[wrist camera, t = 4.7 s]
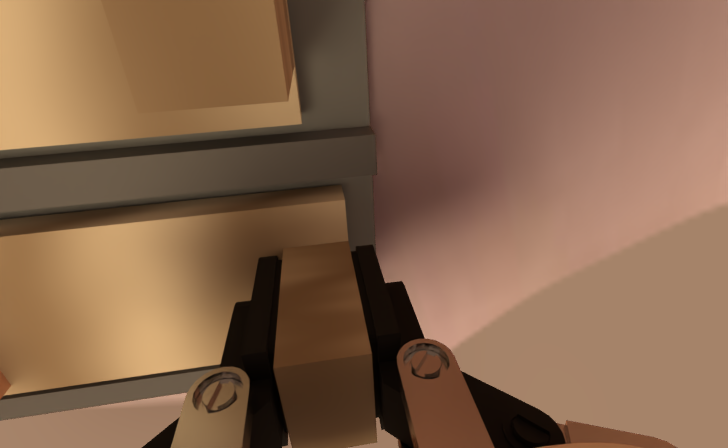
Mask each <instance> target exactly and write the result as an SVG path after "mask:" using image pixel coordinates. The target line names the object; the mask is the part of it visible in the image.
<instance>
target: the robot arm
mask: <svg viewBox="0 0 728 448" xmlns="http://www.w3.org/2000/svg"><path fill="white" fill-rule="evenodd" d="M351 256H352V261H353V266H354V270H355V275H356V280H357V285H358V290H359V294H360V299H361V304H362V309H363V314H364V318H365V323H366V328H367V333H368V338H369V342H370V347H371V352H372V365H373V381H374V398H375V415H376V418H377V417H379V419H380V424H381V429H382V430H383V429H385V431H387V432H388V433H390V434H391V435H393V436H394V437H396V438H397V439H398V446H399V448H677V447H675V446H673V445H672V444H670V443H669V442H667V441H664V440H661V439H658V438H655V437H651V436H645V435H641V434H635V433H630V432H625V431H620V430H614V429H609V428H604V427H599V426H594V425H589V424H584V423H578V422H573V421H568V420H566V423H565V425H564V424H559V423H556V422H555V421H554V420H553V419H552V418H551V417H550V416H549V415H547V414H545V413H544V412H542V411H541V410H539V409H537V408H535V407H533V406H531V405H529V404H527V403H525V402H523V401H521V400H519V399H517V398H515V397H513V396H511V395H509V394H507V393H505V392H503V391H500V390H498V389H496V388H494V387H492V386H490V385H488V384H486V383H484V382H482V381H480V380H478V379H476V378H474V377H472V376H470V375H468V374H466V373H464V372H462V371H461V370H460V368H459V365H458V363H457V361H456V358H455V356H454V355H453V353H452V352H451V350H450V349H449V348H448V347H447V346H445V345H444V344H442V343H440V342H438V341H436V340H431V339H425V338H424V335H423V333H422V330H421V328H420V325H419V322H418V320H417V317H416V315H415V312H414V309H413V307H412V304H411V302H410V299H409V296H408V294H407V291H406V289H405V286H404V284H403V282H402V281H399V282H391V283H385V282H384V279H383V275H382V272H381V269H380V266H379V263H378V259H377V256H376V253H375V250H374V247H373V245H372V244H371V245H362V246H356V251H351ZM281 270H282V259H281V260H278V256H277V255H276V256H268V257H260V258H259V259H258V264H257V270H256V275H255V281H254V286H253V292H252V297H251V300H250V301H242V302H236V303H235V305H234V309H233V313H232V317H231V321H230V326H229V330H228V334H227V338H226V342H225V347H224V351H223V355H222V359H221V363H220V368H217V369H214V370H211V371H209V372H207V373H205V374H204V375H203V376H201V377H200V378H199V379H197V380H196V381H195V382H194V384H193V385H192V386H191V387H190V389H189V391H188V393H187V395H186V398H185V401H184V404H183V408H182V411H181V415H180V417H179V418H178V419H177V420H176V421H174V422H173V423H172V424H170V425H169V426H168V427H167V428H166V429H165V430H163V431H162V432H161V433H159V434H158V435H157V436H156V437H155V438H153V439H152V440H151V441H150V442H148V443H147V444H146V445H145V446H143V447H142V448H282V446H287V445H288V428H287V424H286V420H285V416H284V412H283V407H282V403H281V399H280V395H279V390H278V386H277V382H276V378H275V373H274V369H273V365H274V353H275V341H276V329H277V318H278V306H279V294H280V282H281Z"/></svg>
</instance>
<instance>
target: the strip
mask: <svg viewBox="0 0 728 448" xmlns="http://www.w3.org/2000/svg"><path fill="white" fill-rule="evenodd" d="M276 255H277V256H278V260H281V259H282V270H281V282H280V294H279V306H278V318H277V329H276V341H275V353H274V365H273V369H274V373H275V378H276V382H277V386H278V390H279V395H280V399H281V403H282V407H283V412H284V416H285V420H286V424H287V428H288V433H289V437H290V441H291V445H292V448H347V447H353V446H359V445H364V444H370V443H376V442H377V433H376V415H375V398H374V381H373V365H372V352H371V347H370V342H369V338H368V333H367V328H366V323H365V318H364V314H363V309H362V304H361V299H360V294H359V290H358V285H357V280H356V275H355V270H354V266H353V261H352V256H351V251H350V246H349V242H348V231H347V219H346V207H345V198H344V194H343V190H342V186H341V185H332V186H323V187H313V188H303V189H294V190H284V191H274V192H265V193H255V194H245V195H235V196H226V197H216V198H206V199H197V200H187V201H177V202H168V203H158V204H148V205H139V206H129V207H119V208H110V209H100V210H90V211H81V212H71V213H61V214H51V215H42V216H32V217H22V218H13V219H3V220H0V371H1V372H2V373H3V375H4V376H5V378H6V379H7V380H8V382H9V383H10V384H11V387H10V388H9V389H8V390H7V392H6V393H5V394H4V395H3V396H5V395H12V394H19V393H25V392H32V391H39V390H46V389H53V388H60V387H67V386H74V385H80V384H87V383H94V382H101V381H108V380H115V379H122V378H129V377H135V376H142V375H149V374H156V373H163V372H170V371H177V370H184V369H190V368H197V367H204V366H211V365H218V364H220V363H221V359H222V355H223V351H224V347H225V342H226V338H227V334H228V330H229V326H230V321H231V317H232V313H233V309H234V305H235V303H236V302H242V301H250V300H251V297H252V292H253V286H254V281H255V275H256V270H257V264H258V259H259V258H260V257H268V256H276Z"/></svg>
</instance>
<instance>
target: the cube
mask: <svg viewBox="0 0 728 448" xmlns="http://www.w3.org/2000/svg"><path fill="white" fill-rule="evenodd" d="M10 387H11V384H10V383H9V382H8V380H7V379H6V378H5V376H4V375H3V373H2V372H1V371H0V399H1V398H2V397H3V395H4V394H5V393H6V392H7V390H8V389H9V388H10Z"/></svg>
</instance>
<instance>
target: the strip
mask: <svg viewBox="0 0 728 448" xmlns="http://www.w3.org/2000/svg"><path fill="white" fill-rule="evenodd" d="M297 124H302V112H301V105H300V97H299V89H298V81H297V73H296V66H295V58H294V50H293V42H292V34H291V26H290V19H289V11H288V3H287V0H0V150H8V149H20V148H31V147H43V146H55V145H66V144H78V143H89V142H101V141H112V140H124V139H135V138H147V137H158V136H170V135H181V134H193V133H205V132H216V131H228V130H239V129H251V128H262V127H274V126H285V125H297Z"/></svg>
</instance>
